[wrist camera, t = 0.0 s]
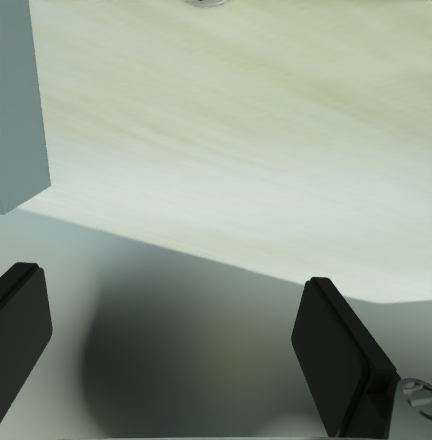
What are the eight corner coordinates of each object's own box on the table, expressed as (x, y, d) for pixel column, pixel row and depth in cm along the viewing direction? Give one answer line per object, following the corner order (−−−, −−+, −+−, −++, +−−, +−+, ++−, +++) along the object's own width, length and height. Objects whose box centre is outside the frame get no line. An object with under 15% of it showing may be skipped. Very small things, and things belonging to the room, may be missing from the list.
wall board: (15, -3, 36) (-65, -47, 25) (28, -1, 36) (-46, -44, 25) (40, 185, 45) (-10, 213, 34) (50, 185, 45) (4, 214, 34)
